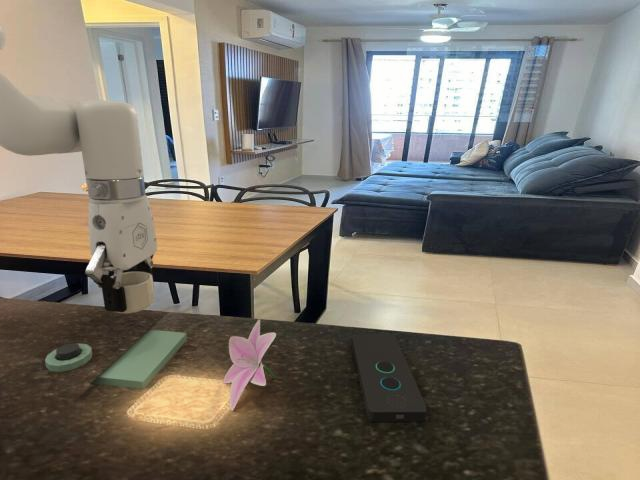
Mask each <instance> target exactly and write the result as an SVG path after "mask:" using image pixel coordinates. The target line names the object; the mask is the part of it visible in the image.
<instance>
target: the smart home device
mask: <svg viewBox="0 0 640 480" xmlns="http://www.w3.org/2000/svg"><path fill="white" fill-rule="evenodd" d="M351 348H352V353H353V358H354V362H355V367H356V371H357V372H356V373H357V376H358V382H359V387H360V390H361V394H362V400H363V403H364V408H365V413H366V417H367V419H368V420H369V422H372V423H373V422H375V423H378V422H381V423H383V422H386V423H387V422H388V423H390V422H393V423H394V422H395V423H397V422H401V423H402V422H425V421H426V417H427V412H428V411H427V410H428V408H427V405H426V403H425V400H424V398H423V396H422V393H421V391H420V389H419V387H418V385H417V382H416V380H415V378H414V376H413V373H412V371H411V369H410V367H409V364H408V362H407V360H406V357H405V355H404V353H403V350H402V348H401V345H400V344H399V341H398V340H397V336H396V335H394V334H393V333H353V334H352V335H351Z"/></svg>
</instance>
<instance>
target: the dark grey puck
mask: <svg viewBox="0 0 640 480" xmlns="http://www.w3.org/2000/svg"><path fill="white" fill-rule="evenodd" d="M78 344H79V343H78ZM78 344H77V343H76V342H71V343H66V344H63V345H61V346H59V347H57V348H56V349H57V350H56V349H55V350H56V354H57V359H58V360H59V361H65V360H70V359H73V358H75V357H78V356H79V355H80V347H79V345H78Z"/></svg>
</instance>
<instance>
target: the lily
mask: <svg viewBox="0 0 640 480" xmlns="http://www.w3.org/2000/svg"><path fill="white" fill-rule="evenodd" d="M276 337H277V333H276V332H274V331H273V332H267V333H263V334H261V319H260V318H259V319H258V320H257V321H256V322H255V324H254V325H253V327H252V329H251V331H250V333H249V336H248V338H247V337H243V336H237V335H232V336H231V337H229V339H228V351H229V353H228V354H229V356H230V361H231V362H232V363H233V364H232V365H231V366H230V367H229V369H228V370H227V372H226V374H225V376H224V378H223V380H222V382H223V384H230V383H231V385H230V391H229V409H230V412H233V411H234V409H235V408H236V406H237V404H238V402H239V400H240V397H241V395H242V393H243V391H244V390H245V388H246V386H247V385H248V383H249V382H250V383H251V384H253V385H256V386H262V387H265V386H266V385H267V379H266V376H265V370H266V371H267V372H268V374H270V376H271V377H272V378H273V379H274V380H276V379H277V377H276V376H275V374H274V373H273V372H272V371H271V370H270V369H269V368H268V367H267V366H266V365H264V364H263V361H262V359H263V357H264V355H265V354H266V352H267V350H268V349H269V348H270V346H271V345H272V343H273V341H274V340H275V338H276Z"/></svg>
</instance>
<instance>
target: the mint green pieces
mask: <svg viewBox="0 0 640 480" xmlns="http://www.w3.org/2000/svg"><path fill="white" fill-rule="evenodd" d="M187 340H188V333H187V332H179V331H169V330H160V329H159V330H158V329H148V330H147V331H146V332H145V333H144V334H143V335H141V336H140V337H139V338H138V339H137V340H136V341H135V342H134V343H133V344H131V346H129V347H128V348H127V349H126V350H125V351H124V352H123V353H121V355H119V356H118V357H117V359H115V360H114V361H113V362H112V363H111V364H110V365H109V366H107V368H105V369H104V370H103V371H102V372H101V373H100V374H99V375H98V376H97V377H96V378H94V380H92V381H91V382H90V383H89V384H90V385H91V384H92V385H99V386H100V385H101V386H109V387H118V388H127V389H137V390H145V389H146V388H147V387H148V386H149V384H150V383H151V382H152V381H153V380H154V379H155V378H156V376H157V375H158V374H159V373H160V372H161V371H162V369H163V368H164V367H165V366H166V365H167V363H168V362H169V361H170V360H171V359H172V358H173V356H174V355H176V353H177V352H178V351H179V349H180V348H181V347H183V345H184V344H185V343H186V342H187ZM76 344H78V345H79V347H80V355H79V356H78V357H75V358H73V359H70V360H65V361H59V360H58V359H57V354H56V350H57V349H58V348H55V349H54V350H52V351H51V352H50V353H48V354H47V355H46V357H45V359H44V364H45V368H46V369H47V370H48V371H50V372H55V373H63V372H67V371H68V372H69V371H73V370H75V369H78V368H80V367H82V366H84V365H86V364H87V363H88V362H89V361H90V360H91V359H92V357H93V349H92V347H91V346H90V345H89V344H86V343H79V342H78V343H76Z"/></svg>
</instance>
